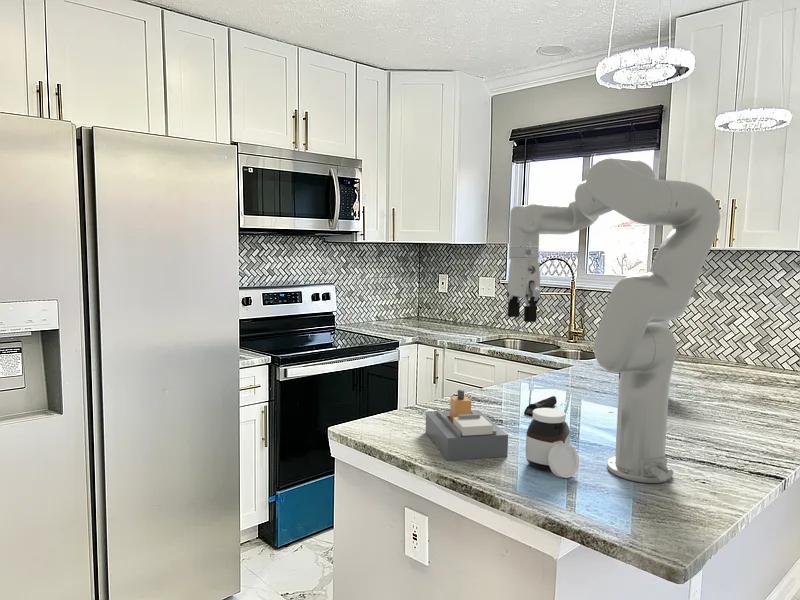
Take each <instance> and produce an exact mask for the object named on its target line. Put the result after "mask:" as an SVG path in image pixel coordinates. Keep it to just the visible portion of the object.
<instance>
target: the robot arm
mask: <svg viewBox="0 0 800 600" xmlns="http://www.w3.org/2000/svg"><path fill="white" fill-rule="evenodd" d="M574 199H575V200H574V201H572V202H570V203H566V204H564V203H563V204H560V203H545V202H542V203H541V202H537V203H531V204H529V205H516V206H513V207H511V209H510V215H509V218H510V219H509V243H508V245H509V246H508V260H510V261H509V268H508V277H507V278H508V280H507V281H508V282H507V284H506V290H507V293H506V295H507V317H508V318H519V317H520V309H521V302H520V299H523V300H524V304H525V305H524V310H523V311H524V312H523V313H524V314H523V322H525V323H534V322H536V321H537V313H538V312H537V311H538V310H537V309H538V305H539V301H540V296H541V273H540V271H541V269H540V262H539V250H540V235H568V234H573V233H576V232H577V231H582V230H584V229H586V228H588V227H590V226H592V225H593V224H595V222H596V221H597V220H598V219H599V217H600V216H602V215H605V214H607V213H611V212H612V211H615V212H616V213H618V214H619V215H622V216H624V217H625V218H627V219H629V220H630V221H632V222H635V223H637V224H642V225H646V226H647V225H648V226H649V225H650V226H651V225H653V226H654V225H655V226H670V227H672V230H671V232H670V233H669V234H668V235H667V236H666V237H665V239H664V240H663V241H662V242H661V244H660V245H659V248H658V249H657V251H656V253H655V256H654V259H653V262H652V264H651V267H650V269H649V270H648V272H647V273H636V274H631V275H628V276H626V277H623V278H622V279H620V280H619V281H618V282H617V283H616V284H615V285H614V287H613V289H612V290H611V292H610V293H609V297H608V299H607V302H606V305H605V307H604V311H603V314H602V316H601V319H600V322H599V325H598V329H596V330H597V331H596V333H595V336H594V342H593V353H594V357H595V360H596V361H597V364H599V366H600V367H601V368H602V369H604V370H605V371H608V372H609V373H610V372H611V373H618V374H619V372H623V374H622V377H621V381H620V385H619V384H618V387H619V388H618V397H617V398H618V400H617V417H616V435H615V439H616V440H615V454H614V455H615V456H612V457H610V458H609V459H608V460H607V461H606V462H607V463H606V467H607V470H608V471H609V472H611V473H612V474H613V475H615V476H617V477H620V478H622V479H625V480H627V481H628V480H629V481H631V482H636V483H645V484H659V483H664V482H668V481H670V480H671V479H672V476H673V475H674V471H673V469H671V468H670V466H668V458H667V457H666V443H667V442H666V441H667V428H668V427H667V425H668V424H667V423H668V409H669V397H670V383H671V376H672V372H673V367H674V364H675V361H676V355H677V341H676V337H675V336H674V334H673V332H672V331H671V330H670V328H669V327H668V328H667V327H665V326H664V325H662V324H659V323H654V322H663V321H669V322H670V321H673V320H676V319H679V318H680V317H681V316H682V315H683V314H684V313H685V310H686V309H687V307H688V306H689V305H688V304H689V302H690V299H691V297H692V295H693V292H694V289H695V287H696V284H697V282H698V280H699V277H700V274H701V272H702V268H703V266H704V264H705V261H706V259H707V257H708V254H709V253H710V251H711V248H712V247H713V244H714V242H715V240H716V238H717V236H718V232H719V229H720V226H721V225H720V224H721V211H720V207H719V205H718V202H717V200H716V199H715V197H714V195H713V194H712V193H711V192H710V191H708V190H707V189H706V188H704V187H703V186H700V185H698V184H696V183H693V182H688V181H680V180H667V179H660V178H658V179H657V178H656V175H655V172H654V171H653V169H652V167H650V165H648V164H647V163H646V162H644V161H641V160H637V159H631V158H621V157H613V156H609V157H603V158H600V159H599V160H597V161H596V162H595V163H593V165H591V166H590V168H589V170H588V171H587V174H586V177H585V180H584V181H582V182H581V183H579V184H578V186H577V187H576V189H575V193H574Z"/></svg>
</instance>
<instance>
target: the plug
mask: <svg viewBox="0 0 800 600" xmlns="http://www.w3.org/2000/svg"><path fill="white" fill-rule="evenodd" d="M449 403H450V404H449V405H450V407H449V408H450V409H449V412H450V420H451V422H452V423H453V417H458V415H464V414H471V410H472V400H471V399H470V398H469V397H468V396H466V395H465V390H464V389H457V396H450V402H449Z"/></svg>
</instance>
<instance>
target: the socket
mask: <svg viewBox="0 0 800 600" xmlns="http://www.w3.org/2000/svg"><path fill="white" fill-rule="evenodd" d="M471 414H480V416H483V417H484V418H485V419H486V420H487V421H488V422H490V423H491V424H492V425H493V434H485V435H469V436H462V435H461V432H460V431H459V430H458V429H457V428H456V427H455V426H454V425H453V423H452V422H451V420H450V411H441V410H440V409H436V412H426V413H425V434H426V435H427V436H428V438H429V437H430V438H429V439H430V440H431V442H432V443H433V442H434V443H433V444H434V445H435V447H436V446H437V447H438V448H437V447H436V448H437V449H438V451H439V452H440V453H441V454H442V456H443V455H444V456H443V457H444V458H445V460H446V459H447V460H449V461H459V460H462V459H463V460H476V458H478V459H489V458H490V459H491V458H492V459H493V458H503V457H504V458H505V457H508V450H509V449H508V448H509V434H508V432H505V430H503V429H502V428H501V427H499V426H498V425H497V424H496V423H495V422H494V421H493V420H491V419H490V418H489V417H488V416H487V415H485V413H483V412H482V411H480V410H477V409H475V410H472V409H471ZM447 460H446V461H447Z"/></svg>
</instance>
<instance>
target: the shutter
mask: <svg viewBox="0 0 800 600" xmlns="http://www.w3.org/2000/svg"><path fill="white" fill-rule="evenodd" d="M453 425H454V426H455V427H456V428H457V429H458V430H459V431H460V432H461V435H462V436H469V435H485V434H493V425H492V424H491V423H490V422H488V421H487V420H486V419H485V418H484V417H483V416H480V414H464V415H458V417H453Z"/></svg>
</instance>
